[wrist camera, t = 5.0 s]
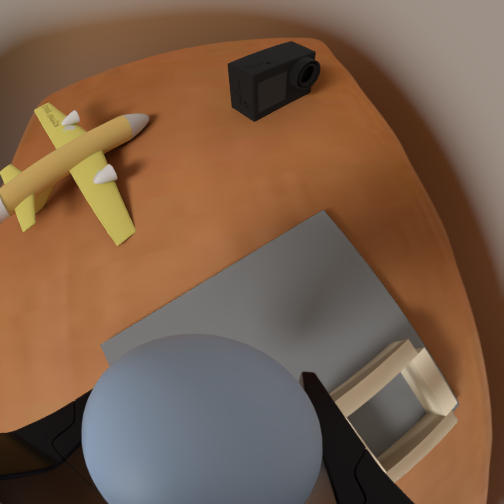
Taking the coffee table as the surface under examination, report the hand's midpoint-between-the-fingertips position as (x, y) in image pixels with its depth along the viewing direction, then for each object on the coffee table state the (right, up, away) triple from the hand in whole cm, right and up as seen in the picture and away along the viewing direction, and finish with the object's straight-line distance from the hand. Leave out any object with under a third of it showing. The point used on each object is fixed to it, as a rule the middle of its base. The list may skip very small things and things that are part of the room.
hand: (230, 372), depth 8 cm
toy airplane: (-21, +11, +20) cm, 31 cm away
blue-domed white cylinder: (0, -4, +5) cm, 6 cm away
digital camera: (+4, +23, +24) cm, 34 cm away
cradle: (+11, -9, +10) cm, 18 cm away
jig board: (+4, -7, +11) cm, 14 cm away
